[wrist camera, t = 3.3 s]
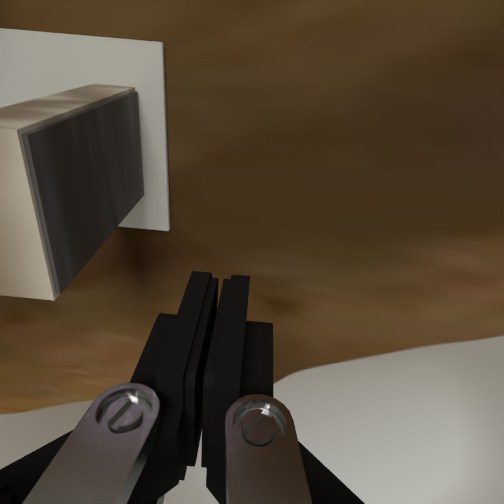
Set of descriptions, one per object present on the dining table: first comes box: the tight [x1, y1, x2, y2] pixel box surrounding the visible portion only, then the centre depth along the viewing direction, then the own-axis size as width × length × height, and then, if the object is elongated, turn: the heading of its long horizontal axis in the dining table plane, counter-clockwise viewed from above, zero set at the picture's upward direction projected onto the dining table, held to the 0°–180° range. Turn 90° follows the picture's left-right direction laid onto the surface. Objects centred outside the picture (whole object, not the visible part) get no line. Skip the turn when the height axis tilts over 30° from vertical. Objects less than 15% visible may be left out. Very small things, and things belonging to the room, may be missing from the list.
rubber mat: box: [0, 28, 170, 231], centre depth 25 cm, size 18×12×1 cm, turn 86°
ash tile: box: [0, 84, 144, 300], centre depth 20 cm, size 3×7×12 cm, turn 175°
